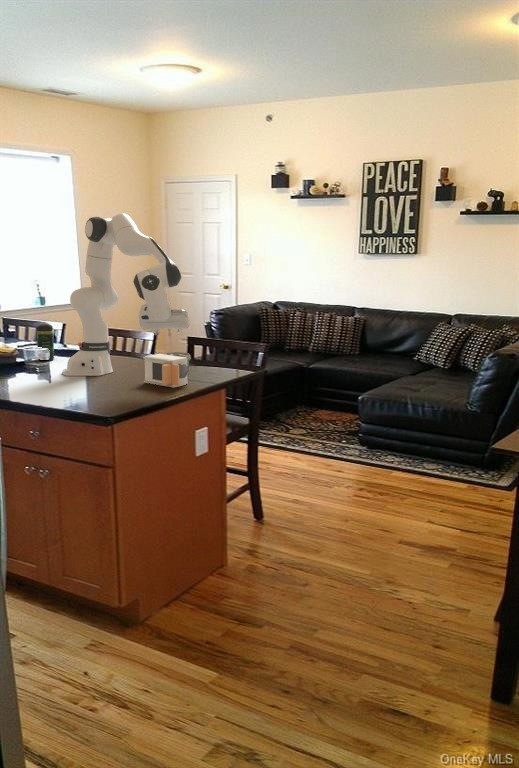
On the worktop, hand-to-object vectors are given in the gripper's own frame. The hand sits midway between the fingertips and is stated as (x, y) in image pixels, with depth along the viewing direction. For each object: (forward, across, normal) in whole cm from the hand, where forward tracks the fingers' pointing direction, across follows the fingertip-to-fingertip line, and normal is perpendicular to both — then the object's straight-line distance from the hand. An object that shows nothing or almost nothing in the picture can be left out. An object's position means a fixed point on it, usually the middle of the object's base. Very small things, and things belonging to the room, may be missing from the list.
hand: (168, 333), depth 267 cm
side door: (+12, 0, +18) cm, 21 cm away
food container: (+33, +3, -4) cm, 34 cm away
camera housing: (+20, +4, +11) cm, 23 cm away
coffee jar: (+46, +80, -24) cm, 95 cm away
